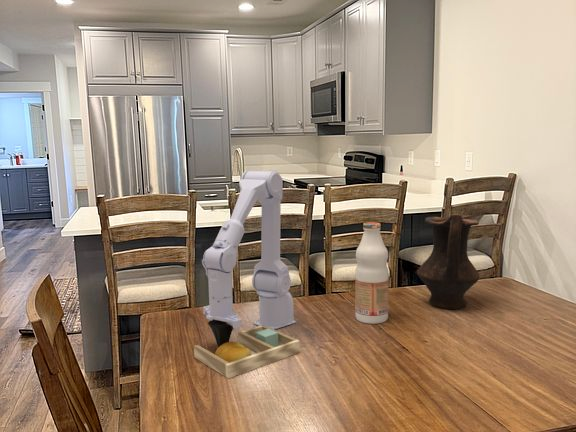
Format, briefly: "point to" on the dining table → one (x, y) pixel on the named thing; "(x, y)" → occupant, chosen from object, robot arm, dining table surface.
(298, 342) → the organiser frame
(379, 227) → the fruit juice
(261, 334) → the teal block
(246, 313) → the dining table surface
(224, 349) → the bread roll
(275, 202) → the robot arm
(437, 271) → the jug
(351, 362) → the dining table surface
